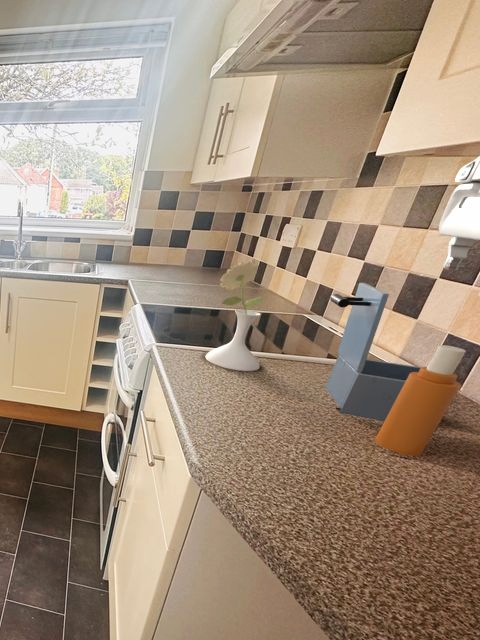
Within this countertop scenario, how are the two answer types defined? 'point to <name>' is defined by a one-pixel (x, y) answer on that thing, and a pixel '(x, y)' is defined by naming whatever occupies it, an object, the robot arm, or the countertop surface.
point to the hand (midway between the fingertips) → (470, 274)
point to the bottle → (421, 404)
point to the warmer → (367, 387)
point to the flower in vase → (236, 351)
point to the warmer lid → (360, 323)
